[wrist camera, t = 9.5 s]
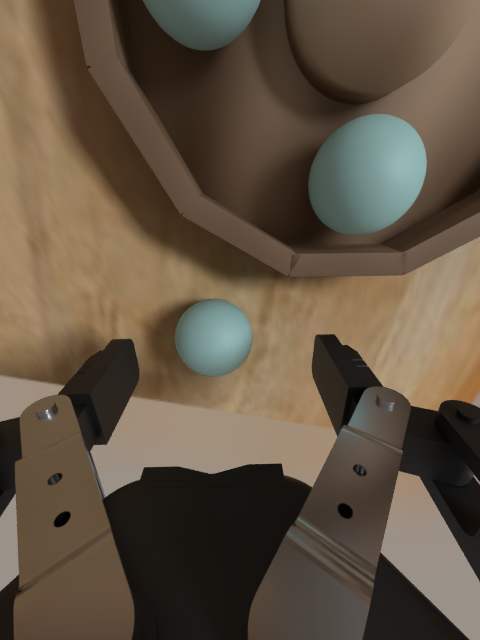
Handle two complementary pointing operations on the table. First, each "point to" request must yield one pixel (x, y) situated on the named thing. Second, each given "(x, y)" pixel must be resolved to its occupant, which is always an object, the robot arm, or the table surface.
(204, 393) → the table surface
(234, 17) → the bead
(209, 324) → the bead
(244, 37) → the tray
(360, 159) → the bead
